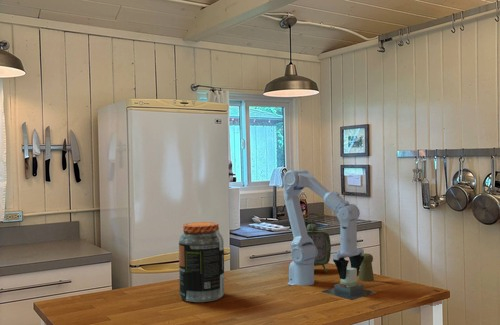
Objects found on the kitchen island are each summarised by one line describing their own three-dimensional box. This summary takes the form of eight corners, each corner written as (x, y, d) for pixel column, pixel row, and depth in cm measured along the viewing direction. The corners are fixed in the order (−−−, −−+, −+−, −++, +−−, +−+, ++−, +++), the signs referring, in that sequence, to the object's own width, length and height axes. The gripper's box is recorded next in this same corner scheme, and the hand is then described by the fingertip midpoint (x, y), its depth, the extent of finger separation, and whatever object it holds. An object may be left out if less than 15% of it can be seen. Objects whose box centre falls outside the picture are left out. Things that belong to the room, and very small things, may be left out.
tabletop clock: (296, 274, 207) (295, 214, 206) (294, 269, 216) (293, 211, 216) (331, 273, 207) (330, 214, 207) (327, 268, 216) (327, 211, 216)
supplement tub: (232, 294, 178) (232, 222, 177) (208, 306, 164) (207, 228, 164) (196, 289, 185) (195, 219, 185) (170, 300, 171) (169, 225, 171)
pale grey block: (340, 286, 176) (340, 268, 176) (348, 284, 179) (347, 266, 179) (349, 289, 173) (349, 270, 173) (357, 286, 175) (357, 268, 175)
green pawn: (374, 284, 190) (374, 255, 189) (358, 283, 191) (358, 255, 191) (373, 280, 196) (373, 252, 195) (358, 279, 197) (358, 252, 197)
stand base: (320, 294, 177) (320, 282, 177) (346, 287, 186) (346, 275, 186) (351, 303, 166) (351, 290, 166) (377, 295, 175) (377, 283, 175)
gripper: (343, 242, 168) (344, 282, 168) (370, 238, 177) (370, 276, 177) (328, 240, 173) (328, 279, 173) (354, 235, 182) (355, 272, 183)
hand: (348, 277), depth 176 cm, fingers open, 6 cm apart
